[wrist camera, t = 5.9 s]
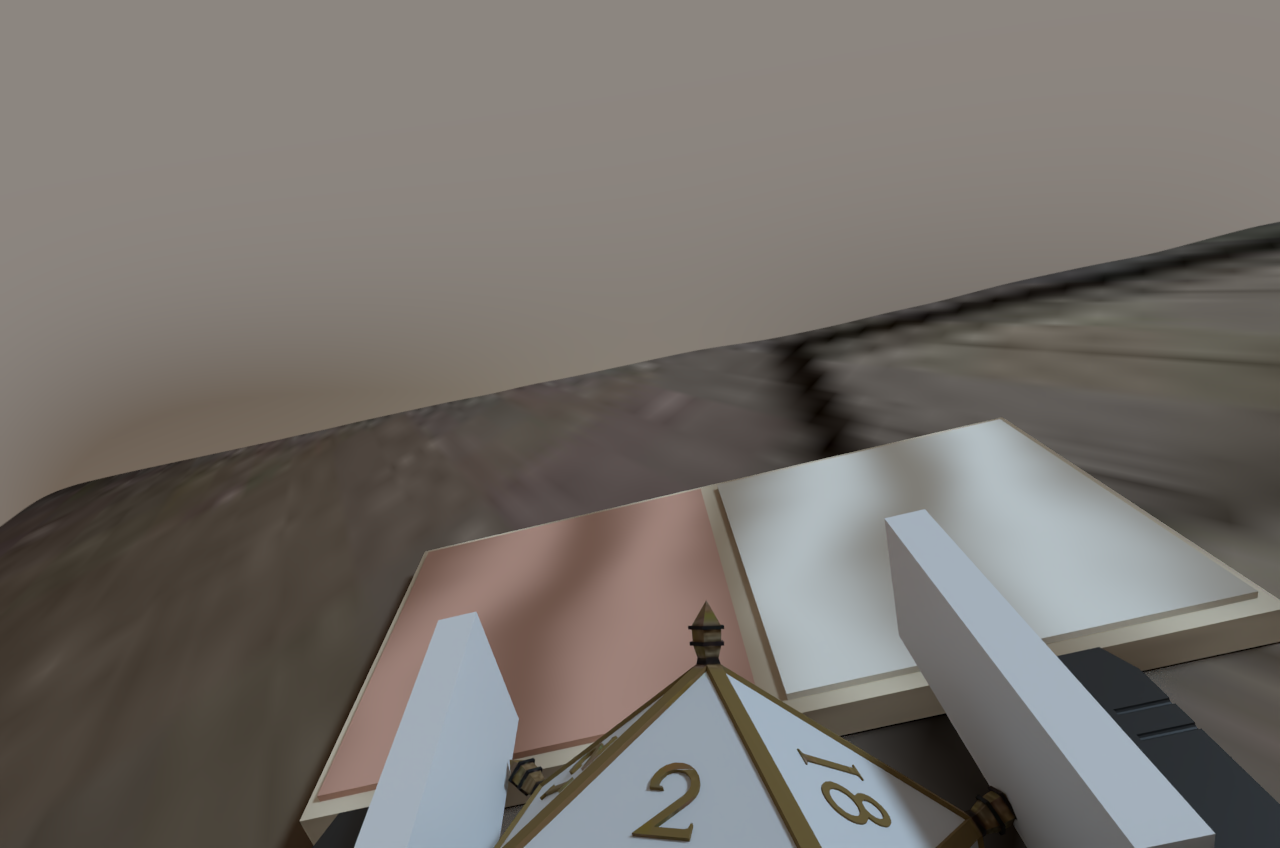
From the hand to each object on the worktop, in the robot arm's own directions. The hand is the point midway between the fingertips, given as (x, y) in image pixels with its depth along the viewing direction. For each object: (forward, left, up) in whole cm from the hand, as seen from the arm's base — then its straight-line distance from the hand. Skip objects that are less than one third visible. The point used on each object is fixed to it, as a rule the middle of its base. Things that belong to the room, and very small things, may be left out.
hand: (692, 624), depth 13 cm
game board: (-1, -9, -6) cm, 11 cm away
